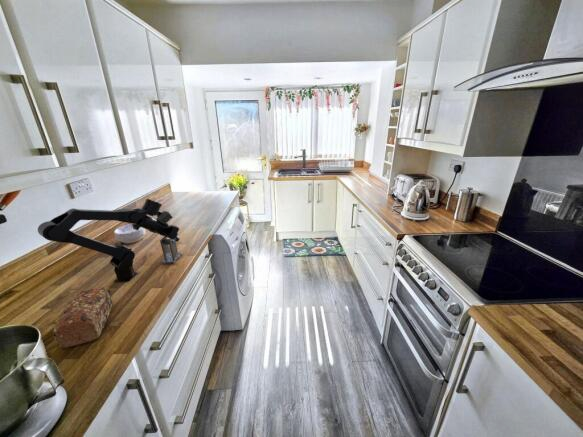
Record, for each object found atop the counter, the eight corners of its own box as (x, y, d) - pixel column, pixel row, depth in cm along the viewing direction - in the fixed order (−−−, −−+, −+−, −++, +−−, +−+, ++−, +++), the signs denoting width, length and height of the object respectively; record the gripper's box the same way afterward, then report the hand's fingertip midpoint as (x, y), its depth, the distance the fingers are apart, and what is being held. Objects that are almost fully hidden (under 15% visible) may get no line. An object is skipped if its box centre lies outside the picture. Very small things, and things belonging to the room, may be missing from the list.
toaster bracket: (170, 254, 124) (165, 234, 120) (182, 254, 124) (177, 234, 120) (161, 264, 116) (156, 242, 112) (173, 264, 116) (168, 242, 112)
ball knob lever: (175, 241, 126) (174, 235, 126) (180, 241, 126) (180, 235, 126) (163, 245, 115) (163, 239, 115) (169, 245, 115) (169, 239, 115)
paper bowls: (125, 248, 133) (121, 235, 130) (112, 242, 140) (108, 230, 138) (152, 237, 145) (149, 225, 142) (139, 232, 152) (135, 221, 150)
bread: (101, 339, 75) (90, 315, 71) (58, 351, 71) (44, 326, 68) (116, 302, 91) (108, 280, 88) (82, 310, 88) (72, 288, 84)
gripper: (170, 211, 109) (195, 223, 122) (147, 205, 118) (173, 218, 131) (159, 234, 106) (186, 244, 119) (136, 226, 115) (163, 236, 128)
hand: (177, 234), depth 124 cm, fingers closed
